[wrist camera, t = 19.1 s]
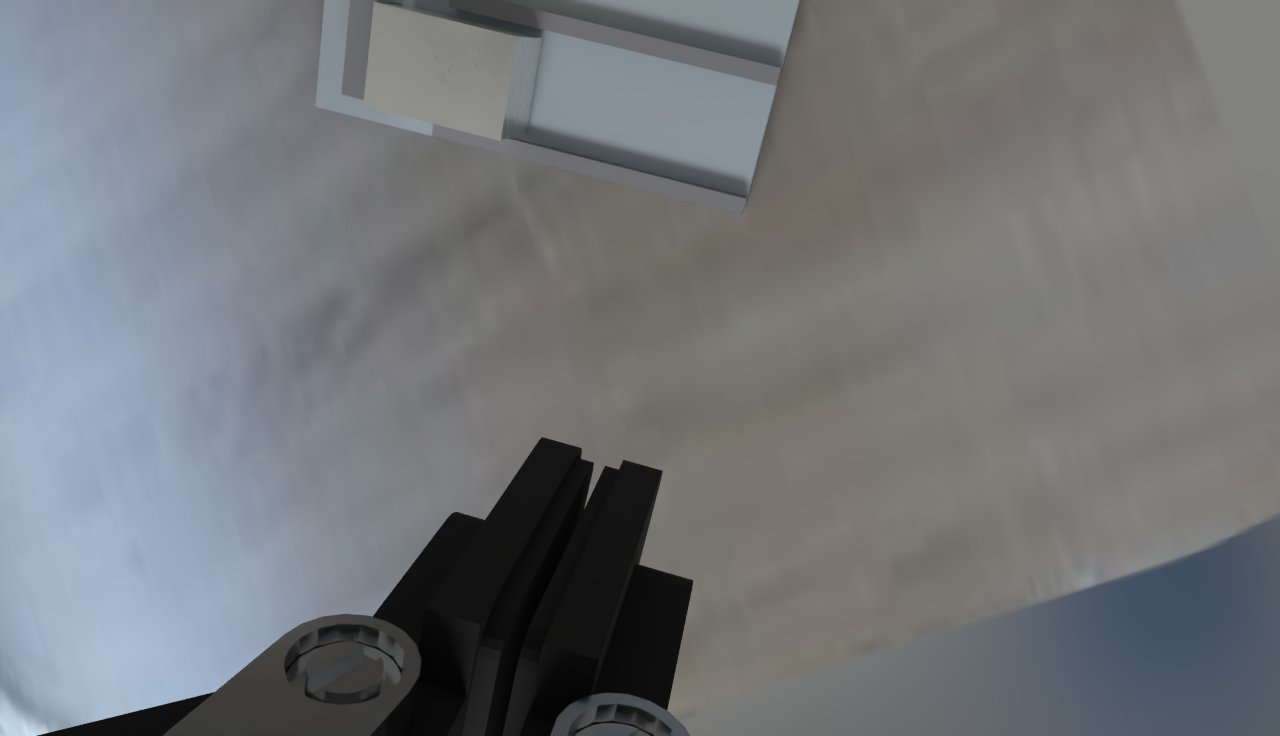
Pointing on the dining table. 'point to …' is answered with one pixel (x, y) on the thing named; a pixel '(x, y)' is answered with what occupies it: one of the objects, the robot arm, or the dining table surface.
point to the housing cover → (450, 71)
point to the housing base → (611, 86)
